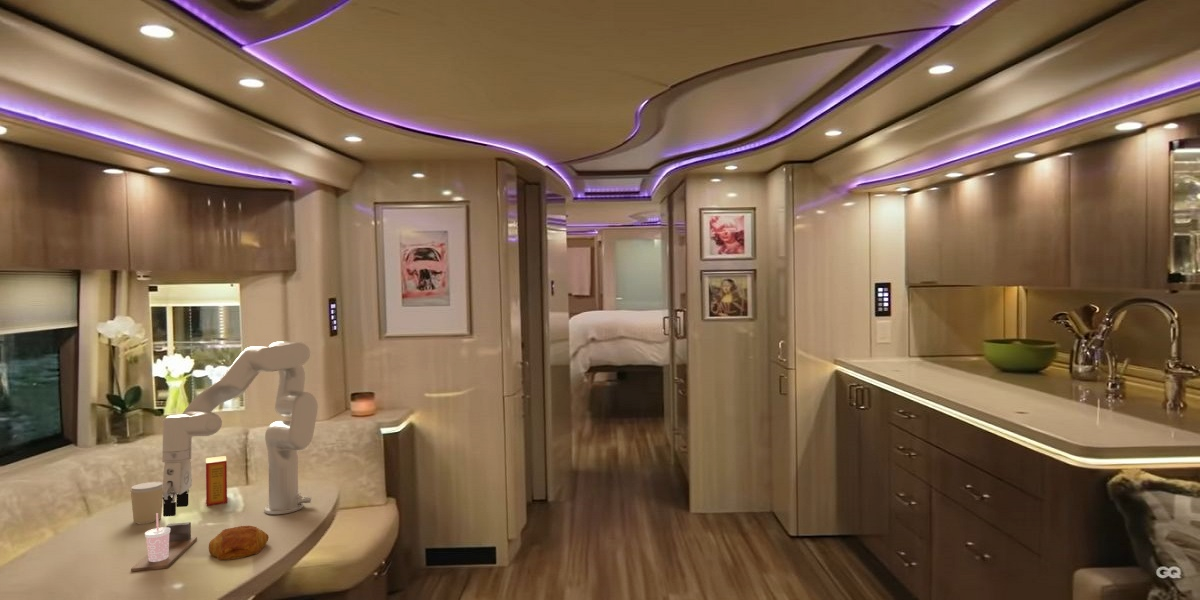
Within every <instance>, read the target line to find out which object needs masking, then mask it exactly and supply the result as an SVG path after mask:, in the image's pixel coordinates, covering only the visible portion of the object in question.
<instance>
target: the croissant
mask: <svg viewBox="0 0 1200 600" xmlns="http://www.w3.org/2000/svg"><path fill="white" fill-rule="evenodd" d="M268 541H269V534H268V533H266V532H265V531H263V530H262V529H260V528H258V527H257V526H252V525H239V526H237V527H230V528H225V529H223V530H222V531H220V532H219V533H218V534H217V536H215V537H214V538H212V539H211V540H210V541H209V544H208V552H209V554H210V556H211V557H215V558H216V557H217V559H218V561H222V560H223V561H224V560H225V561H231V560H236V559H243V558H247V557H248V556H249V557H250V556H251V555H255V554H256V553H257V554H259V553H260V552H261V550H262V549H263V548H264V547H266V545H267V543H268ZM246 556H247V557H246ZM228 559H230V560H228Z"/></svg>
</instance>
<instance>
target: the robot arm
mask: <svg viewBox="0 0 1200 600" xmlns="http://www.w3.org/2000/svg"><path fill="white" fill-rule="evenodd" d="M310 357H311V351H310V348H309V346H308V345H307V344H306V343H303V342H299V341H283V340H282V341H275V342H272V343H271V344H269V345H268V346H249V347H246V348H245V349H244V350H243V351H242V352H240V354H239V355H238V357H237V358H236V359H235V360H234V361H233V363H232V364H231V365H230V366H229V368H228V369H227V370H226V371H225V372H224V373H223V375H221V378H219V379H218V380H217V381H216V382H214V383H212V384H211V385H210V386H208V387H207V388H206V389H205V390H203V391H202V392H200V393H198V395H196V397H194V399H192V401H190V403H189V404H188V405H187V407H186V408H185V409H184V410H183V412H182V413H181V414H172V415H167V416H166V417H164V418H163V421H162V453H161V454H162V455H161V456H162V458H161V462H162V463H164V464H163V465H164V466H163V473H162V474H163V475H162V483H163V492H162V494H163V500H162V516H163V517H165V518H166V517H174V516H176V514H177V512H176V511H177V508H182V507H188V506H189V492H190V488H192V485H193V480H192V479H193V478H192V461H191V460H192V444H193V443H192V438H193V437H209V436H213V435H215V434H217V433H218V432H219V431H220V430H221V428H222V425H223V421H222V417H221V416H220V415H218V414H217V413H215V412H213V411H214V410H215V409H216V408H218V406H220V405H221V404H223V403H225V402H227V401H231V400H234V399H235V398H237V397H240V396H242V395H243V394H244V393H245V392H247V389H248V388H249V387H250V385H251V384H252V383H253V382H254V380H255V379H256V378H257V376H258V375H259V374H260V373H261V372H264V373H271V372H278V375H279V378H278V379H279V380H278V386H277V392H276V396H275V402H274V403H275V404H274V409H275V413H276V414H277V415H278V416H281V417H285V418H291V419H290V420H276V421H274V422H272V423H271V424H270V425H268V427H267V428H266V430H265V433H264V435H265V436H264V441H265V445H266V449H267V457H268V459H267V460H268V465H267V466H268V467H267V468H268V505H266V506H265V507H264V509H263V512H264V513H265V514H268V515H285V514H290V513H291V514H292V513H294V512H297V511H299V510H301V509H303V507H304V504H311V503H312V497H310V496H309V495H308V496H301V493H300V492H299V457H298V452H297V451H301V450H304V449H306V448H307V447H308V446H309V445H310V444H311V443H312V439H313V437H314V432H315V428H316V420H317V415H318V410H319V407H318V406H319V405H318V400H317V399H316V397H315V395H313V394H312V393H311V392H309V391H305V382H306V371H305V368H304V366H303V365H305V364H306V363H307V362H308V361H309V360H310Z"/></svg>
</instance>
